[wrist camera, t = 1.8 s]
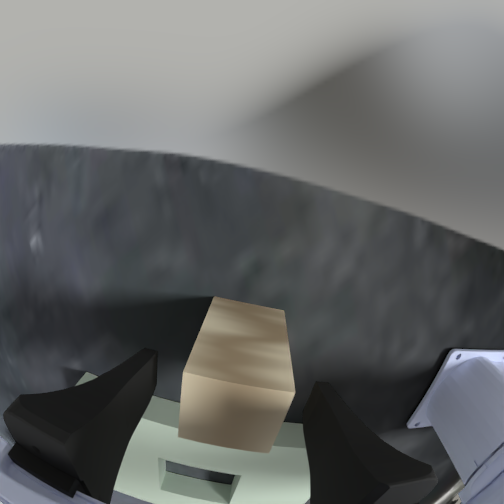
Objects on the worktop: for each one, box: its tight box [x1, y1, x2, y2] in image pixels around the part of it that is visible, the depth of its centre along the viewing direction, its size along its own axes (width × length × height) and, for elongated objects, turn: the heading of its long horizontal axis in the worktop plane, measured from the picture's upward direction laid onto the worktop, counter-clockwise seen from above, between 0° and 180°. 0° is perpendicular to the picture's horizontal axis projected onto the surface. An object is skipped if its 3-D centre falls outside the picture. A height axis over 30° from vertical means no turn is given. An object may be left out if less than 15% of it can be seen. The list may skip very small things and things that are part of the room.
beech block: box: [178, 296, 295, 454], centre depth 13 cm, size 4×4×7 cm
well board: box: [75, 372, 310, 504], centre depth 19 cm, size 20×16×2 cm
